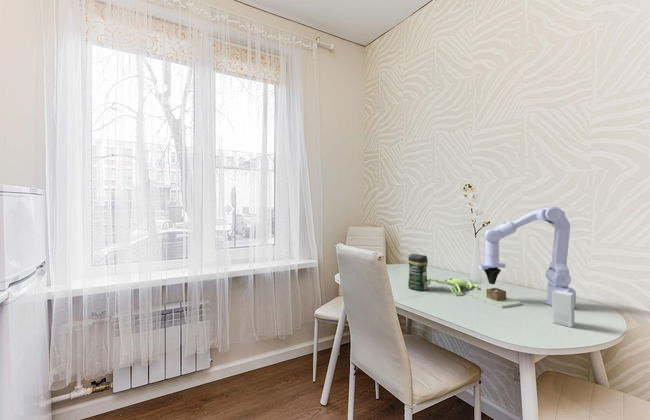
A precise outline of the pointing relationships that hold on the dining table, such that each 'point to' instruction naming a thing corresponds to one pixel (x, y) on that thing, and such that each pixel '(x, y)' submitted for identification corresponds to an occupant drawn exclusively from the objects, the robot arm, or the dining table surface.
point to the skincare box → (563, 308)
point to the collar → (496, 294)
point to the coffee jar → (417, 272)
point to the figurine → (455, 282)
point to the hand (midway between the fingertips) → (491, 283)
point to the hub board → (501, 304)
